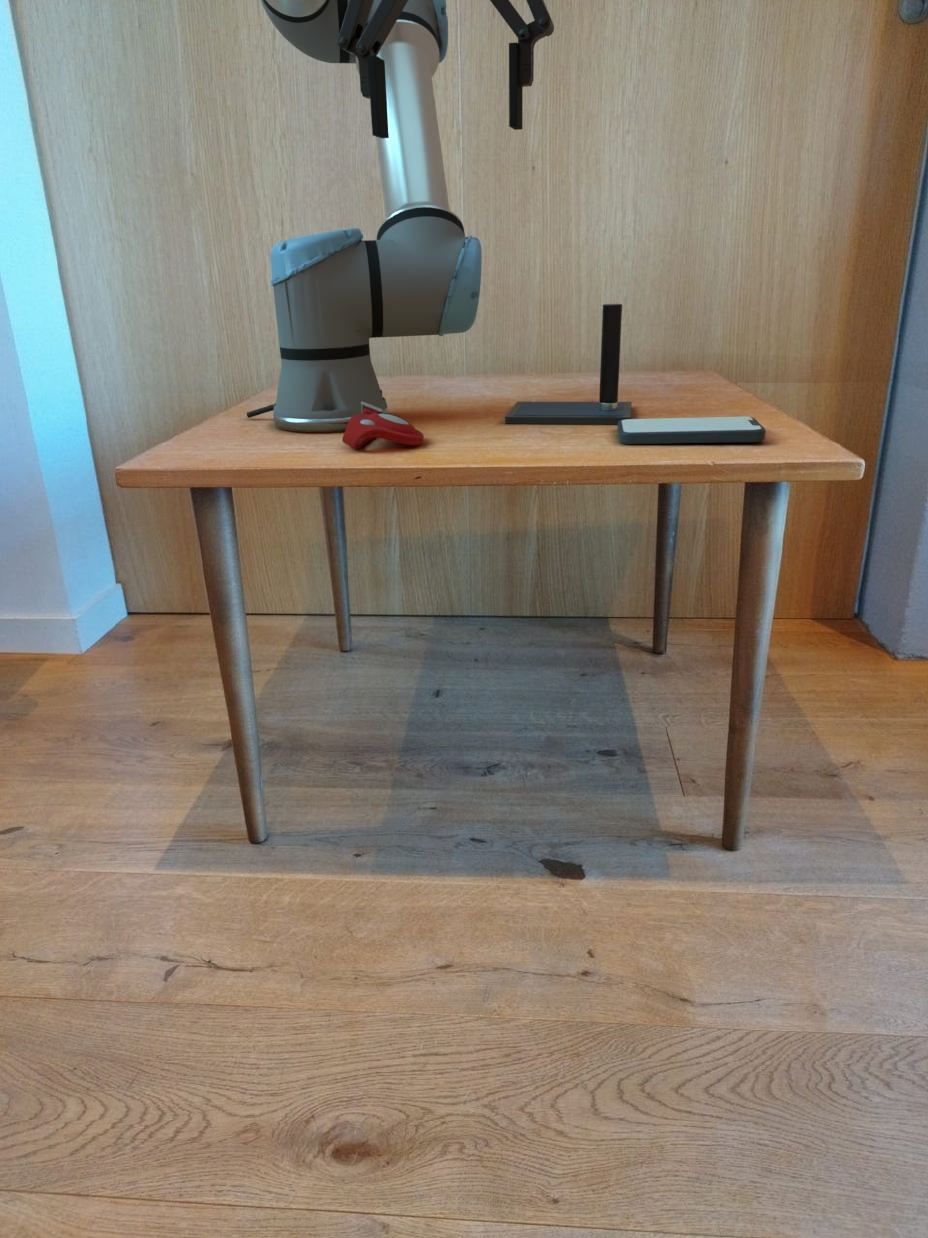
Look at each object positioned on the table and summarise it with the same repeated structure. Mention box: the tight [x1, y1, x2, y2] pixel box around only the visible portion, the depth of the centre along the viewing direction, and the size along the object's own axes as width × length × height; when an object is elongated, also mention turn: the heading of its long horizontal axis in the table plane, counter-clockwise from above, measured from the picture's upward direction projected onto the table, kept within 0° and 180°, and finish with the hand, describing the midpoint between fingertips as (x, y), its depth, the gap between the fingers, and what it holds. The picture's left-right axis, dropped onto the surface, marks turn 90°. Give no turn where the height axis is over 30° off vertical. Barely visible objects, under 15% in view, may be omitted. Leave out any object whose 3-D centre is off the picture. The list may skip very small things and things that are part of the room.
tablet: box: [504, 400, 632, 426], centre depth 110 cm, size 16×12×1 cm
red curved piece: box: [341, 402, 425, 450], centre depth 97 cm, size 12×4×10 cm
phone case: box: [616, 416, 767, 445], centre depth 95 cm, size 9×2×16 cm
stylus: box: [598, 303, 623, 411], centre depth 105 cm, size 2×2×13 cm
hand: (447, 132), depth 79 cm, fingers open, 13 cm apart
